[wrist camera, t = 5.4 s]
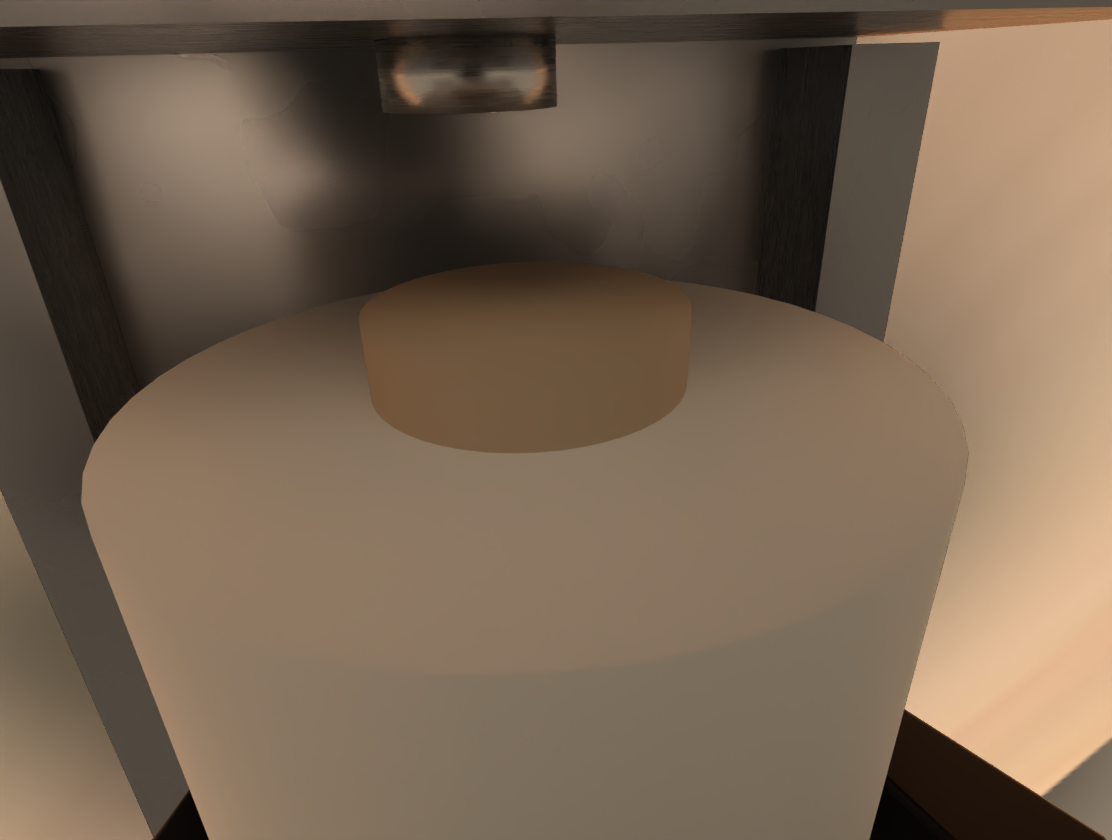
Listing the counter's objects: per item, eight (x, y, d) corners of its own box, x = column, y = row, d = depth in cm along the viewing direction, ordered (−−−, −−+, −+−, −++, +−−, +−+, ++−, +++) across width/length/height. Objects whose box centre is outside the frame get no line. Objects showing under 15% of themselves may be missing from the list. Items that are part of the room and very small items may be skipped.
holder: (828, -96, 9) (1485, -345, 4) (726, 772, 16) (895, 1117, 11) (-86, -108, 7) (-1463, -629, 2) (257, 875, 14) (183, 1351, 9)
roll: (195, 243, 6) (-314, 677, 2) (738, 207, 7) (1318, 445, 3) (365, 916, 11) (341, 1515, 6) (684, 847, 11) (862, 1335, 7)
